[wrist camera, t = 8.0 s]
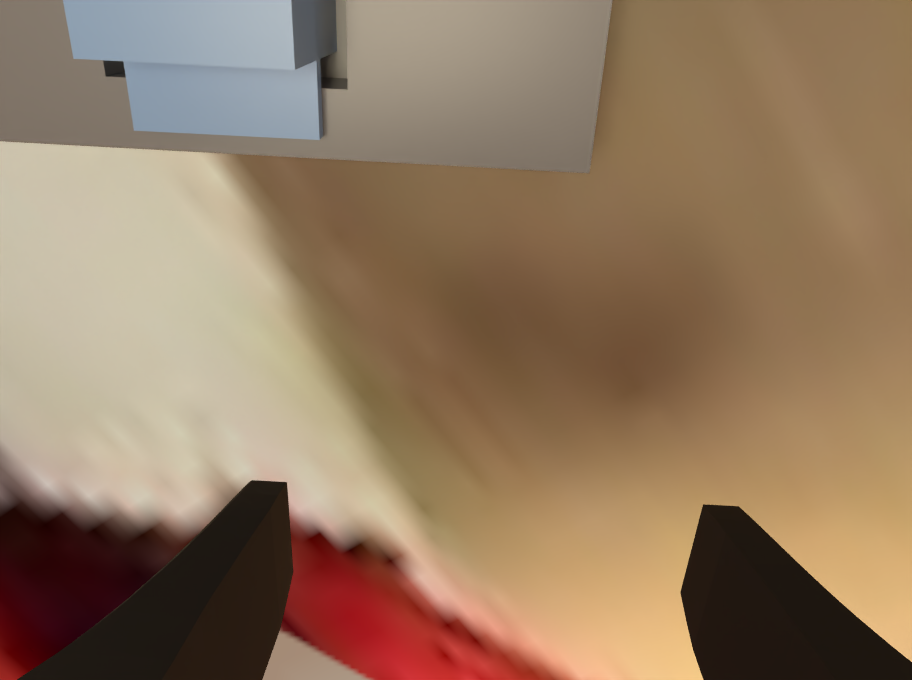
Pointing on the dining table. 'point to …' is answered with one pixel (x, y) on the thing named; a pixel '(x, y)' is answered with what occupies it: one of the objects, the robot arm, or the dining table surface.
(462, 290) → the dining table surface
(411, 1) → the grey flat block
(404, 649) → the dining table surface
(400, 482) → the dining table surface
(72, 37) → the servo
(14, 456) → the dining table surface
